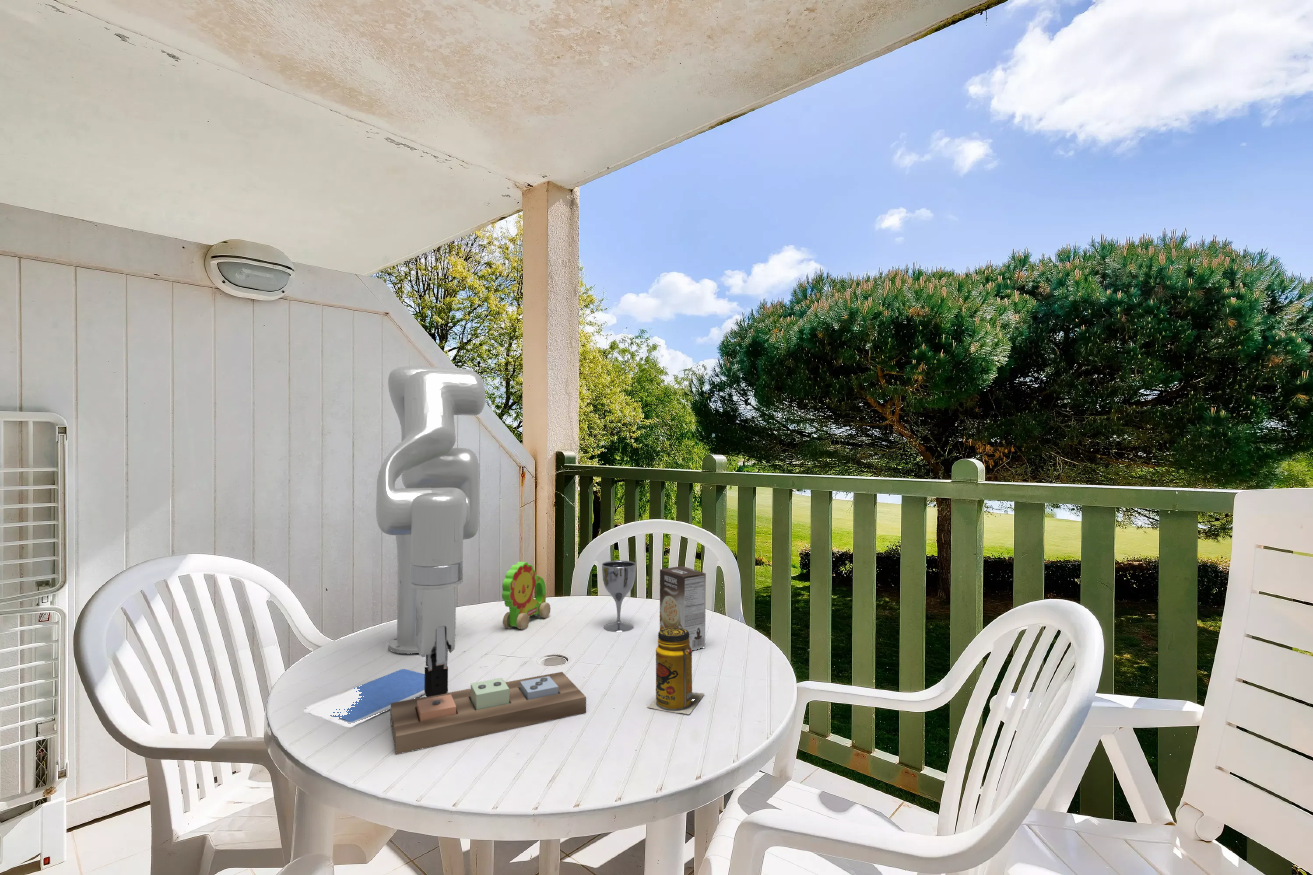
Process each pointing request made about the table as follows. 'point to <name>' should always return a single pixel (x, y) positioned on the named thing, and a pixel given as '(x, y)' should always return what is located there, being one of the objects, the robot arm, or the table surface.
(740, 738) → the table surface
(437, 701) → the button one dot
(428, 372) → the robot arm
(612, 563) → the wine glass
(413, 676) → the blue rectangular pad
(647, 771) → the table surface
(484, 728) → the button board
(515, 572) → the green wooden toy car
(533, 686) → the button three dots
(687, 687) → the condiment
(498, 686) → the button two dots
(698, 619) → the coffee box
